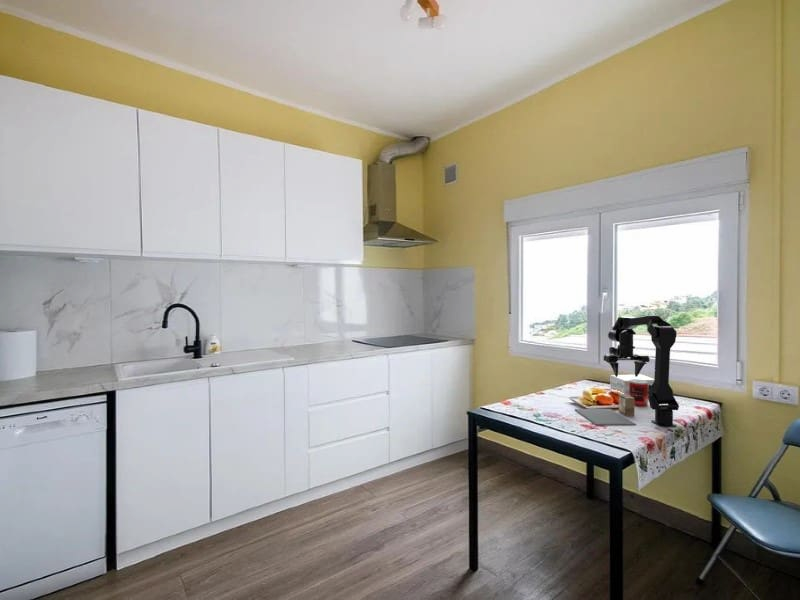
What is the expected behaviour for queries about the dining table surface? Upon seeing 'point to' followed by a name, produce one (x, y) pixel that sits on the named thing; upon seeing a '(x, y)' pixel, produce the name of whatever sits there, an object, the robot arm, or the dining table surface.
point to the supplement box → (626, 382)
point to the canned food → (639, 392)
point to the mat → (604, 417)
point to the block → (626, 405)
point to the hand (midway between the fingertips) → (626, 376)
